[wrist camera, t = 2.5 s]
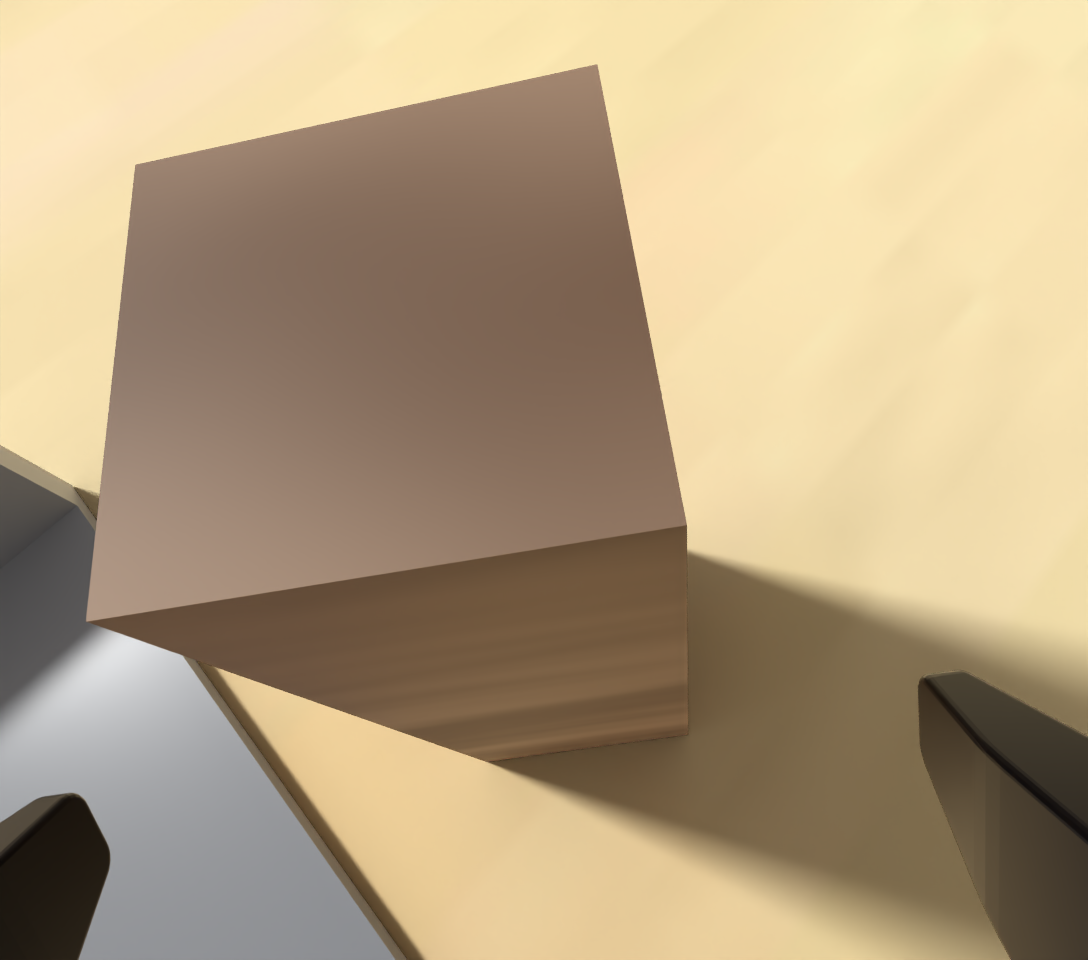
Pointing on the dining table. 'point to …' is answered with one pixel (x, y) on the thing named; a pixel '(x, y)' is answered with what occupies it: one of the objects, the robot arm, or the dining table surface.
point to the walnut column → (402, 427)
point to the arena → (153, 767)
